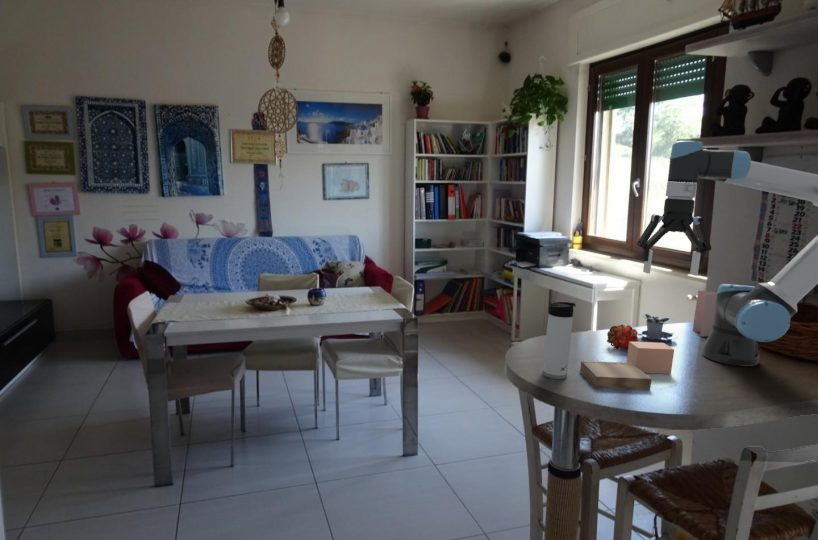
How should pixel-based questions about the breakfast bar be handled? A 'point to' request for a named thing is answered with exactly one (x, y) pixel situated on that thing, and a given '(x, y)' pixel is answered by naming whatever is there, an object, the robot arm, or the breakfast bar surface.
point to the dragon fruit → (622, 336)
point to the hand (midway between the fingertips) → (670, 273)
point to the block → (651, 357)
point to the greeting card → (704, 312)
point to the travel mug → (558, 340)
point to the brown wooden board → (615, 375)
